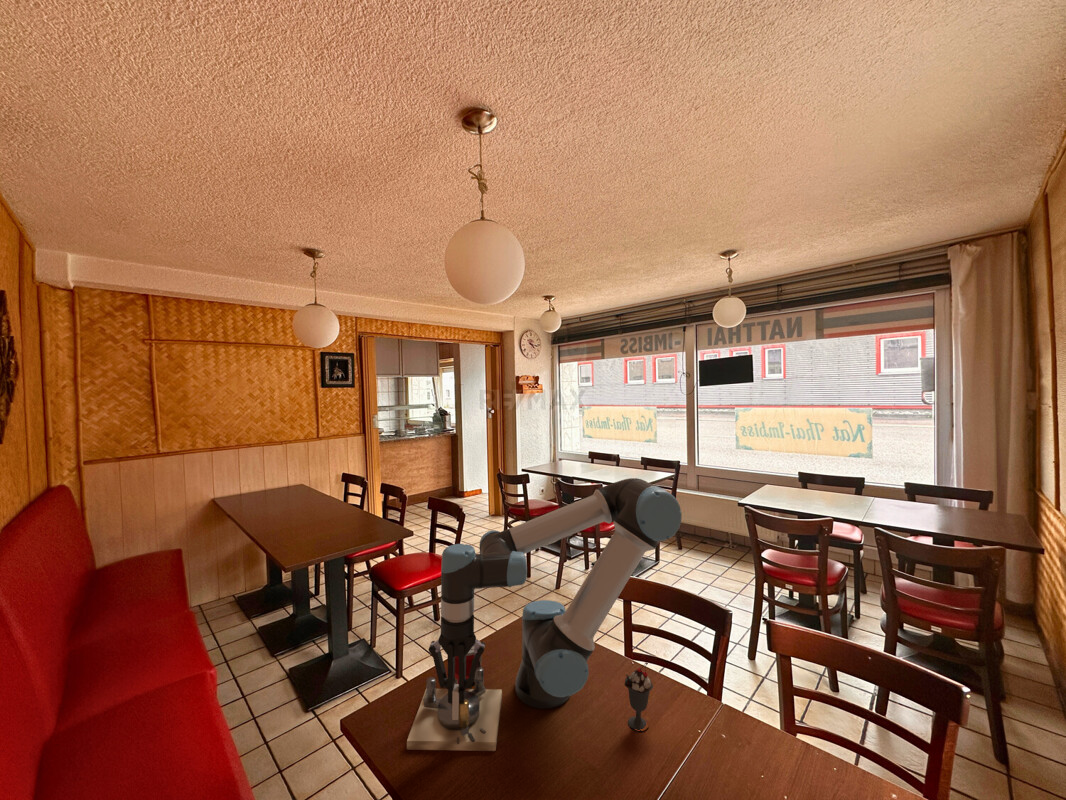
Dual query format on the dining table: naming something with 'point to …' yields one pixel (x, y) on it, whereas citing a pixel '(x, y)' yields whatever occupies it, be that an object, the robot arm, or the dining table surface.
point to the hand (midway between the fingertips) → (456, 715)
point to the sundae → (638, 696)
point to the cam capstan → (466, 710)
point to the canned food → (467, 666)
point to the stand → (436, 737)
